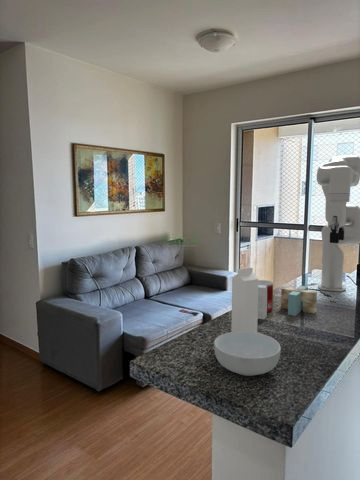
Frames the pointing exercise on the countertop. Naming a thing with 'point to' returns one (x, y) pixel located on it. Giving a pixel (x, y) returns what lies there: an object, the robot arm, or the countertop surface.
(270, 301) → the canned food
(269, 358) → the cereal bowl
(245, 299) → the milk
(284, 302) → the beige flat block
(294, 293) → the light blue block
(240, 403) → the countertop surface
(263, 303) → the skincare box
